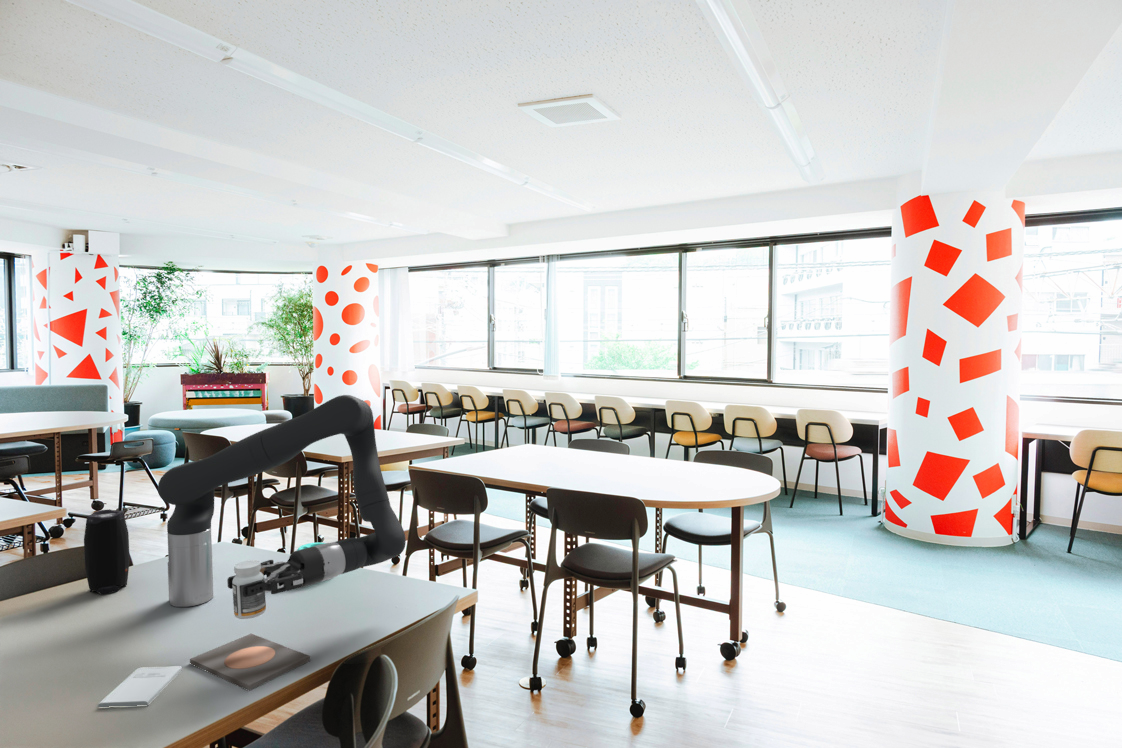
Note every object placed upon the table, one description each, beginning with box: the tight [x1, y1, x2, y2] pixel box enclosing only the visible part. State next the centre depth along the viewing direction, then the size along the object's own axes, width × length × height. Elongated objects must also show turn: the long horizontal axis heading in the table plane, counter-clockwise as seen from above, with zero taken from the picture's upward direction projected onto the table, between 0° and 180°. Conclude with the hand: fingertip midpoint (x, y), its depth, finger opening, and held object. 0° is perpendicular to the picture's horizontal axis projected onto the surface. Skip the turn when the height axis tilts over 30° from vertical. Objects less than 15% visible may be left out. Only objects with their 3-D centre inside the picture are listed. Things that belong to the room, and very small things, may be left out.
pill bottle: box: [232, 559, 267, 620], centre depth 130 cm, size 6×6×10 cm
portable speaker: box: [83, 509, 131, 596], centre depth 168 cm, size 9×9×20 cm
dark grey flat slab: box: [189, 633, 311, 691], centre depth 131 cm, size 19×13×1 cm
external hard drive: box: [97, 665, 183, 708], centre depth 121 cm, size 2×8×12 cm
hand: (235, 587), depth 128 cm, fingers closed on pill bottle, 5 cm apart
